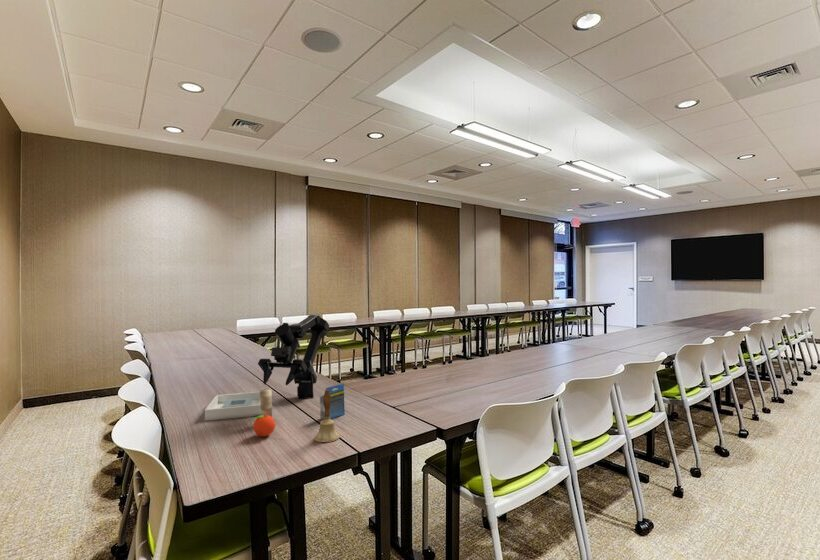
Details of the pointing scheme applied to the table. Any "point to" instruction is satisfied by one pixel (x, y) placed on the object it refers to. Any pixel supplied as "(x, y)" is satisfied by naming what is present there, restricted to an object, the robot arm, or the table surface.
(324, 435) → the hand bell
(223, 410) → the tray
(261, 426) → the clementine
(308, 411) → the table surface
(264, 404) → the peg
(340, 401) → the label tape cartridge
